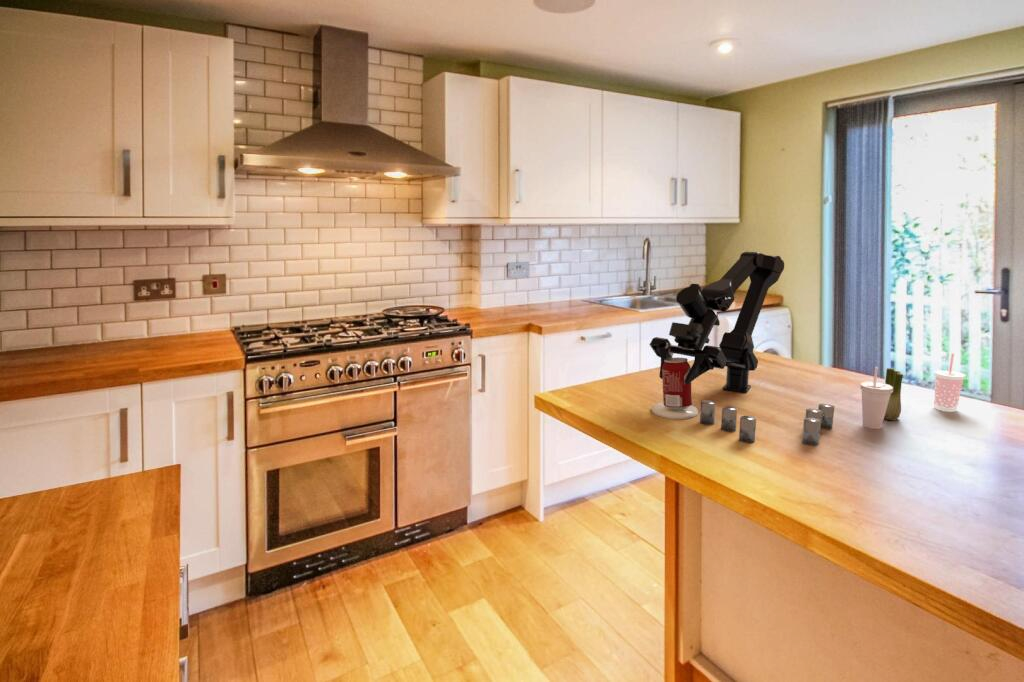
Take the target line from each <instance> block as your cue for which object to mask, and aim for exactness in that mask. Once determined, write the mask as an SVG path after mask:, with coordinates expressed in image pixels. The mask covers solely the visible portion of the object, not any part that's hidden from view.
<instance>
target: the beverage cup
mask: <svg viewBox="0 0 1024 682" xmlns="http://www.w3.org/2000/svg"><path fill="white" fill-rule="evenodd" d="M950 355H951V356H950V362H949V363H950V364H949V368H948V369H949V370H943V369H942V370H936V371H934V376H935V386H934V400H933V409H935V410H938V411H941V412H942V411H943V412H948V413H949V412H952V413H953V412H956V411H957V409H958V404H959V400H960V396H961V392H962V387H963V383H964V380H966V379H965V378H966V374H964V373H963V372H959V371H954V370H953V365H954V364H953V363H954V355H955V353H951V354H950Z"/></svg>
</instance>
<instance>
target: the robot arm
mask: <svg viewBox="0 0 1024 682" xmlns="http://www.w3.org/2000/svg"><path fill="white" fill-rule="evenodd" d="M784 269H785V262H784V260H783V259H782V257H781V256H780V255H767V254H764V253H762V252H760V251H759V252H758V251H744V252H741V254H740V256H739V258H738V260H736V261H735V263H734V264H733V265H732V266H731V267H730V268H729V269H728V270H727V271H726V273H724V274H723V276H722V277H721V278H720V279H719V280H716V281H713V282H711V283H709V284H708V285H706V286H705V287H704V288H701V286H700V284H699V283H691V284H690V285H689V286H688V287H684V288H683V289H682V290H680V291H678V293H677V294H676V299H675V300H676V302H677V303H678V305H679V306H680V308H681V310H682V311H683V313H684V314H685V316H686V317H688V318H689V319H690V320H689V322H688V324H687V323H680V322H674V321H673V322H671V326H670V330H669V332H668V333H669V334H668V335H669V337H670V336H672V337H673V338H674V339H673V340H674V342H675V343H676V344H677V345H674V344H672V343H671V342H670V341H669V339H668V338H664V337H658V336H656V337H653V338H652V339H651V341H650V343H649V347H650V348H651V350H652V351H653V352H654V353H655V355H656V356H657V357H658V358H660V367H659V378H660V379H661V380H662V366H663V364H664V363H665V361H664V360H665V359H667V358H673V355H674V354H676V355H682V356H687V357H693V358H694V360H693V363H692V365H691V369H690V371H689V373H688V375H687V377H686V380H685V383H686V384H689V383H690V382H691V383H692V382H693V381H694V380H695V379H697V378H698V377H700V376H701V375H703V374H705V373H706V372H708V371H713V370H714V369H715V368H716V369H720V370H723V369H724V368H725V367H726V378H725V379H726V381H725V384H724V385H723V386H722V390H724V391H733V392H740V393H748V392H749V390H750V389H751V388H752V385H750V384H749V376H750V374H749V373H750V371H755V370H756V369H757V367H758V364H759V360H758V358H757V356H756V354H755V353H754V348H755V345H754V341H753V336H752V335H753V333H754V330H755V326H756V324H757V323H758V322H757V321H758V318H759V316H760V313H761V310H762V307H763V304H764V302H765V300H766V297H767V294H768V291H769V289H770V288H771V287H772V286H773V285H774V284H776V283H777V282H778V281H779V279H780V277H781V275H782V273H783V271H784ZM748 278H749V279H750V283H749V285H748V289H747V290H746V291H747V292H746V294H745V297H744V300H743V302H742V306H741V307H740V311H739V314H738V316H737V319H736V322H735V323H734V324H735V325H734V327H733V329H731V331H729V332H726V331H725V332H724V334H723V335H722V338H721V341H720V343H719V345H718V346H713V345H709V342H710V339H709V336H710V334H711V332H712V330H713V328H714V327H715V326H717V327H718V326H720V320H719V316H718V314H716V312H727V311H728V310H729V309H730V308H731V306H732V304H733V303H734V301H735V294H736V292H737V290H738V289H739V288H740V287H741V286H742V284H744V282H745V281H746V280H747V279H748ZM705 344H708V345H705Z"/></svg>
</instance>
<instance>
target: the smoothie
mask: <svg viewBox="0 0 1024 682" xmlns="http://www.w3.org/2000/svg"><path fill="white" fill-rule="evenodd" d="M878 370H879V367H878V366H875V367H874V372H873V373H874V375H873V381H864V382H861V383H860V387H859V388H860V390H861V413H862V414H861V415H862V416H861V417H862V427H864V428H867V429H871V430H880V429H882V427H883V423H884V420H885V419H884V416H885V413H886V409H887V405H888V402H889V398H890V394H891V393H892V392H893V387H892V386H890V385H888V384H885V383H883V382H877V379H878Z"/></svg>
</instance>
